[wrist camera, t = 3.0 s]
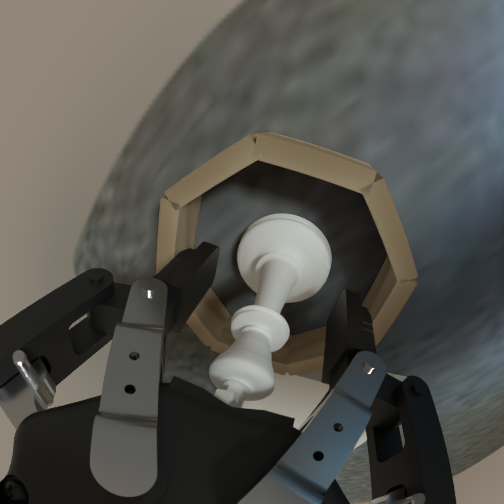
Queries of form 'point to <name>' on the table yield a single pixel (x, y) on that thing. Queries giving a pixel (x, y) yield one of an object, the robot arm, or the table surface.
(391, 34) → the table surface
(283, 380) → the tray
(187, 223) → the holder ring
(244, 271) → the chess piece
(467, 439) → the table surface
